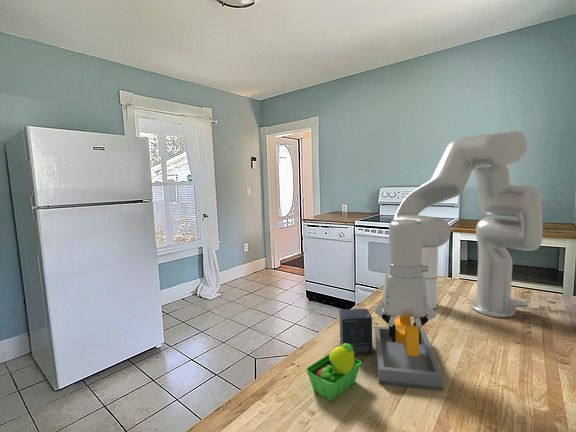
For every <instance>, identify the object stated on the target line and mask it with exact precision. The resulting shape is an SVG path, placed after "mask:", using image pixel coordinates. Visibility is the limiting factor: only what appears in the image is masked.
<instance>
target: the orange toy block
mask: <svg viewBox="0 0 576 432" xmlns="http://www.w3.org/2000/svg"><path fill="white" fill-rule="evenodd" d="M411 319H412V318H411V317H406V316H398V318H395V321H394V323H395V328H396V335H395V342H396V343H403V345H404V348H405V351H406V354H407V356H419V329H418V327H417V326H413V325H412V321H411Z"/></svg>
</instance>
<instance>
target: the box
mask: <svg viewBox="0 0 576 432" xmlns="http://www.w3.org/2000/svg"><path fill="white" fill-rule="evenodd" d="M344 343H347V344H350V345H351V346H352V347H353V351H354V356H362V355H364V356H366V355H373V352H374V351H373V317H372V315H371V312H370V311H369V309H368V308H352V309H349V308H348V309H339V345H340V346H341V345H342V344H344Z"/></svg>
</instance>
